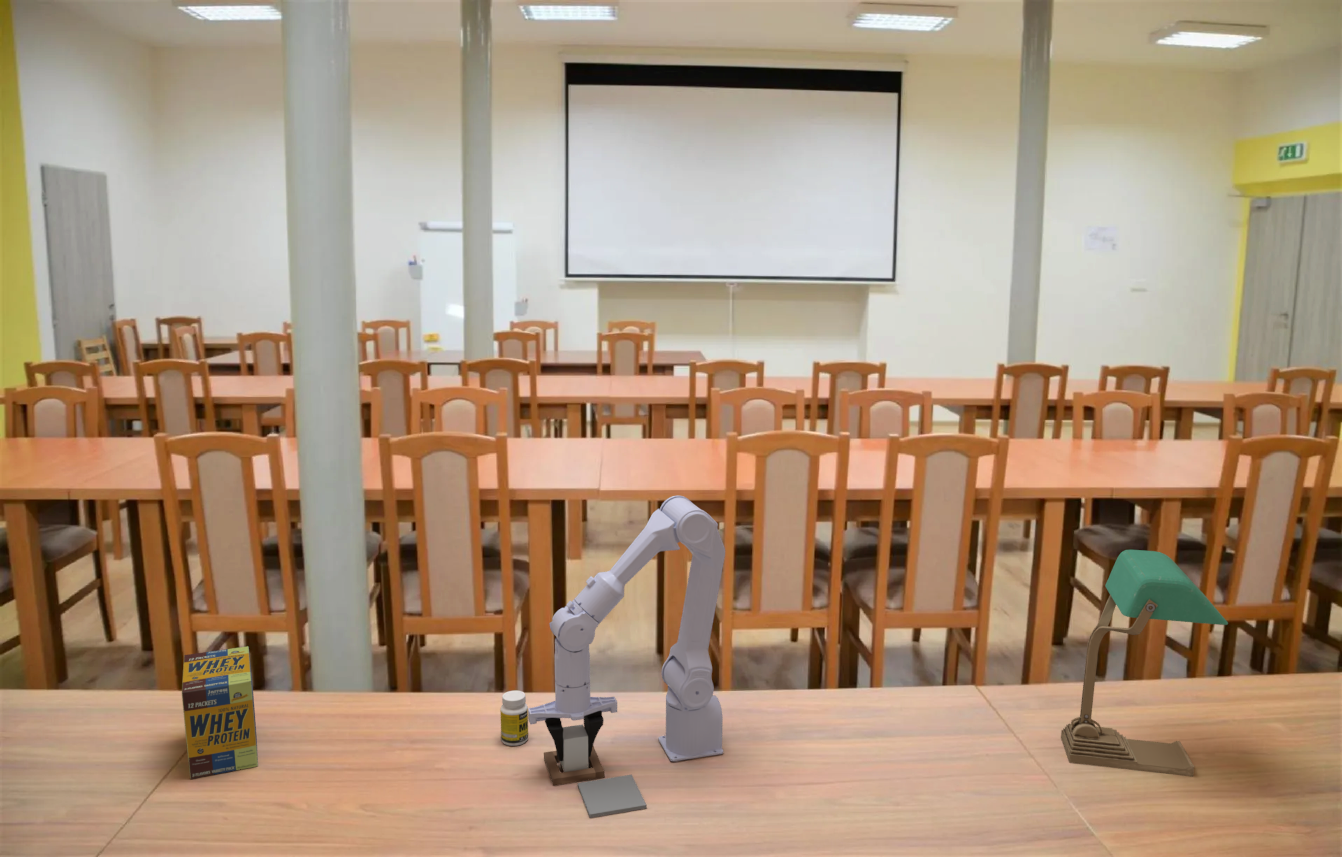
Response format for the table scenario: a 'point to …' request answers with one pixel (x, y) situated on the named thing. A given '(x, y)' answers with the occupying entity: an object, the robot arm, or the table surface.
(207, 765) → the protein box
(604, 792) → the coaster
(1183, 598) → the banker's lamp
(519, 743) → the supplement bottle
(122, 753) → the table surface
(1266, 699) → the table surface
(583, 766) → the block
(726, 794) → the table surface
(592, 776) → the holder
